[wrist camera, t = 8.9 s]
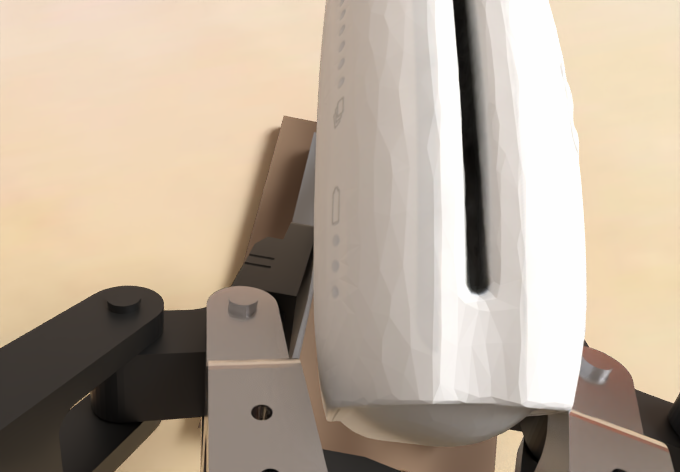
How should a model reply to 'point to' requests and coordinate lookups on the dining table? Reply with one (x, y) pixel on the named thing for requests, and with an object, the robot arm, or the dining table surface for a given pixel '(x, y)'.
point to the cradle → (273, 221)
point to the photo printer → (446, 220)
